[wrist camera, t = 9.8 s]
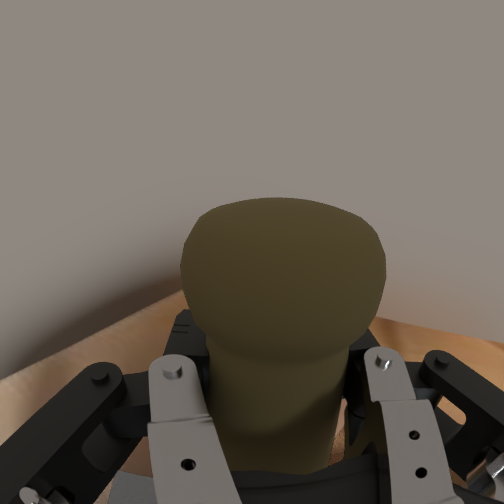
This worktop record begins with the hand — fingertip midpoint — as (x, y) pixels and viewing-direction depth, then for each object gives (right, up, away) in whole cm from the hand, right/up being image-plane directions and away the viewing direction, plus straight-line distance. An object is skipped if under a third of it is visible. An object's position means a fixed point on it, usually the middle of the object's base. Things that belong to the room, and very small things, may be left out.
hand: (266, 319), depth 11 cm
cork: (0, -7, -1) cm, 7 cm away
